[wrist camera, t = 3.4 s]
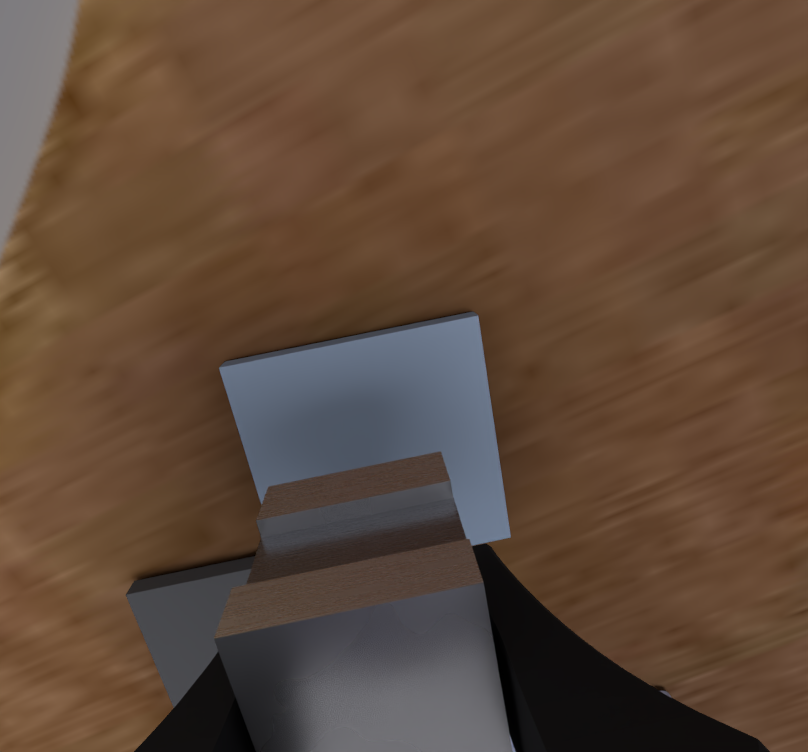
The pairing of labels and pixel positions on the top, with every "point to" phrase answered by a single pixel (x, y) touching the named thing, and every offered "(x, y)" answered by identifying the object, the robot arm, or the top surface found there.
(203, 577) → the stand
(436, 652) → the block
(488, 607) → the robot arm
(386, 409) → the stand
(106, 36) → the top surface
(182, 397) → the top surface
